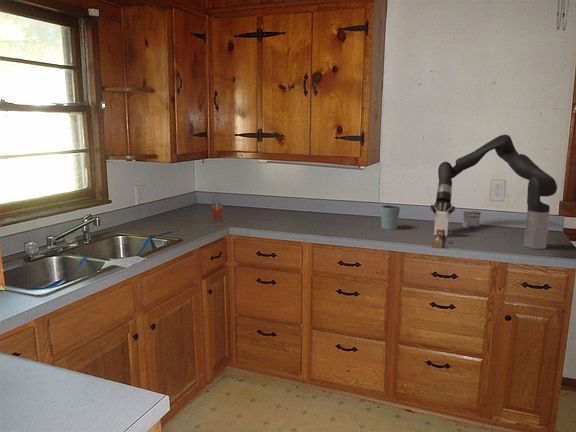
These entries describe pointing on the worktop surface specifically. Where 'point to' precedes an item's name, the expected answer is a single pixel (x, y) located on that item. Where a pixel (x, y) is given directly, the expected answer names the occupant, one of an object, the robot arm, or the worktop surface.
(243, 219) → the worktop surface
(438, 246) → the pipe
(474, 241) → the worktop surface
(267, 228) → the worktop surface
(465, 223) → the medicine box
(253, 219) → the worktop surface
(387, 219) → the grey-green cup
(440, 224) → the beige rectangular block
